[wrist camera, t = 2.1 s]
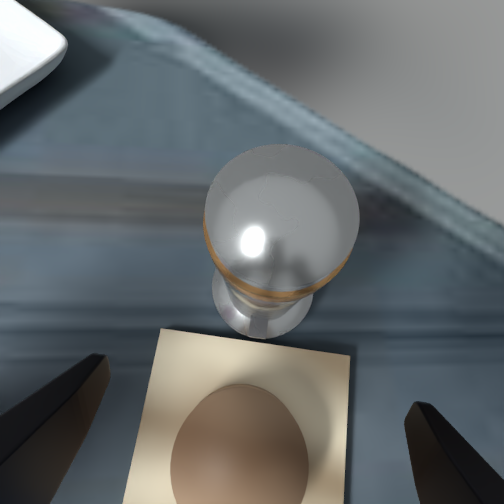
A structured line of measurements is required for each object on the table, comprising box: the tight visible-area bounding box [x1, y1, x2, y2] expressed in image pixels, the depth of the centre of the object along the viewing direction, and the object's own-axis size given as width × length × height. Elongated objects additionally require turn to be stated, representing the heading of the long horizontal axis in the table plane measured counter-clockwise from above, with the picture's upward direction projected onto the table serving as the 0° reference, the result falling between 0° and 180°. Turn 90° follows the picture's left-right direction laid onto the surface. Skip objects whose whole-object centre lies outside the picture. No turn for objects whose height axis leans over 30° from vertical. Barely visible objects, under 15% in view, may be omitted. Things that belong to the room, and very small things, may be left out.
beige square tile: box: [123, 328, 350, 504], centre depth 17 cm, size 12×12×3 cm
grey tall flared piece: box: [203, 144, 360, 339], centre depth 15 cm, size 7×6×13 cm
